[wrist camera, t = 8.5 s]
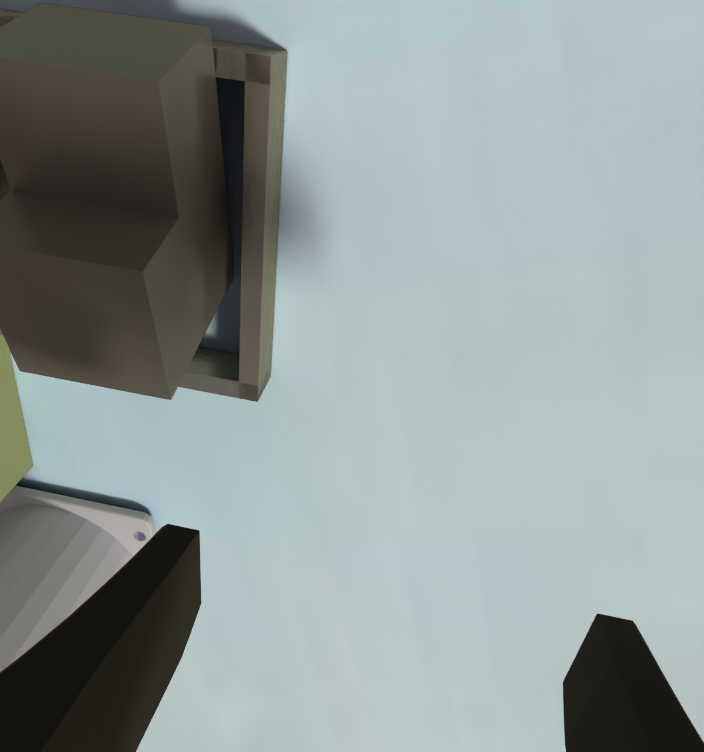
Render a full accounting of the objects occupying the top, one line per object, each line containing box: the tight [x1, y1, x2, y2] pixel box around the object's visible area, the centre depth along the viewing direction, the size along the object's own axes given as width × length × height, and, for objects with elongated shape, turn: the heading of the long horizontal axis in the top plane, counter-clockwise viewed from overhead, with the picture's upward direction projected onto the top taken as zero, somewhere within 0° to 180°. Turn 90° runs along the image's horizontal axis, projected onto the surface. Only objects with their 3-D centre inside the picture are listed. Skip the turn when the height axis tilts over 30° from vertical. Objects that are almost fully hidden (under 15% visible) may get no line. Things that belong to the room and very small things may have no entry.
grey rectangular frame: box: [0, 9, 287, 402], centre depth 18 cm, size 10×9×2 cm
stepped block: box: [0, 3, 234, 400], centre depth 15 cm, size 7×4×5 cm, turn 173°
